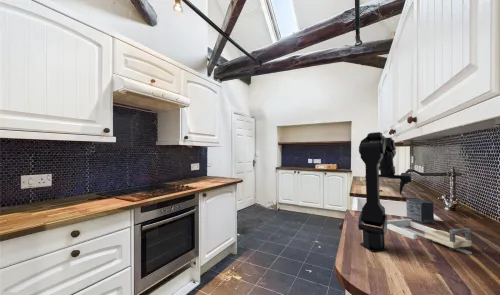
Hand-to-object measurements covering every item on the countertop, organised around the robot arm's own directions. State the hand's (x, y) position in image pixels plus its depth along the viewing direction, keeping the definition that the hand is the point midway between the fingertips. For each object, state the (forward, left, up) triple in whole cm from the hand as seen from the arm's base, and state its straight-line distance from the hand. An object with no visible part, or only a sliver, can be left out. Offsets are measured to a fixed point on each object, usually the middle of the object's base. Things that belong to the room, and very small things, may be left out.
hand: (389, 193), depth 103 cm
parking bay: (+1, -17, -15) cm, 23 cm away
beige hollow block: (+1, -25, -15) cm, 29 cm away
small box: (+19, +1, -16) cm, 24 cm away
